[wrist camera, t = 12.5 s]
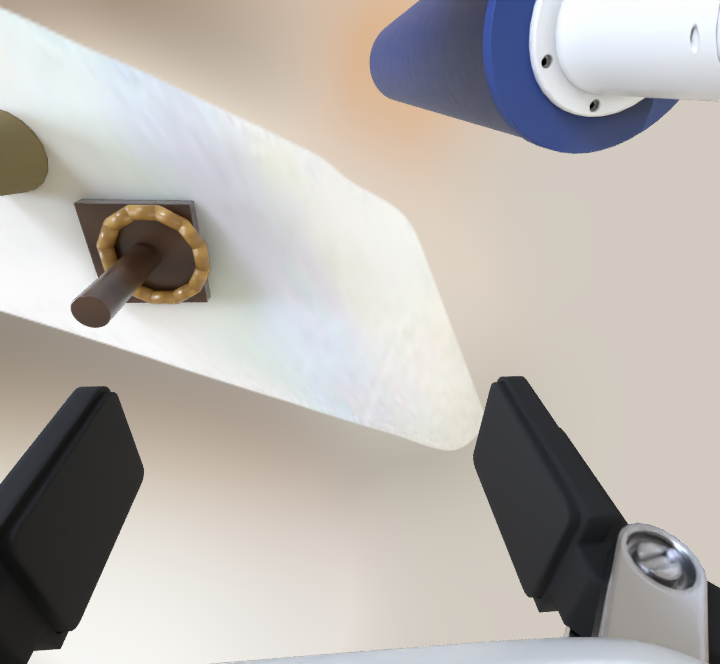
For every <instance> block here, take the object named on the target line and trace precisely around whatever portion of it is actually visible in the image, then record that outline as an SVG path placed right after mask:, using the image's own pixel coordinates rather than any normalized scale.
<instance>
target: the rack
mask: <svg viewBox="0 0 720 664" xmlns="http://www.w3.org/2000/svg"><path fill="white" fill-rule="evenodd" d="M126 205H160V206H162V207H164V208H166V209H168V210H170V211H172V212H174V213H176V214H178V215H180V216H181V217H183V218H185V219H187V220H188V221H189V222H190V223H191V224H192V226H193V227H194V228H195V230H196V231H197V232H198V233H199V230H198V224H197V218H196V213H195V207H194V202H193V201H163V200H87V199H81V200H79V201H77V202H75V203H74V206H75V209H76V212H77V215H78V218H79V221H80V224H81V227H82V230H83V233H84V236H85V239H86V242H87V245H88V248H89V251H90V254H91V257H92V260H93V263H94V266H95V270H96V273H97V276H98V279H96V280H95V281H94V282H93V283H92V284H91V285H90V286H89V287H87V288H86V289H85V290H84V291H83V292H82V293H81V294H80V295H78V296H77V297H76V298H75V299H74V300H73V301H72V303H71V312H72V314H73V316H74V317H75V319H76V320H77V321H79V322H80V323H81V324H83V325H85V326H88V327H93V328H98V327H103V326H105V325H106V324H108V323H109V321H110V320H111V319H112V318H113V317H114V316H115V314H116V313H117V312H118V311H119V310H120V309H121V308H122V306H123V305H124V304H125V303H148V302H146V301H144V300H141V299H139V298H137V297H134V296H132V295H133V294H134V293H135V292H136V290H137V289H138V288H139V287H140V286H141V285H143V286H145V287H148V288H150V289H152V290H154V291H175V290H176V289H178V288H180V287H181V286H183V285H185V284H187V283H188V282H189V281H190V279H191V277H192V274H193V272H194V270H195V268H196V266H195V261H194V256H193V251H192V248H191V247H190V245H189V244H188V243H187V242H186V240H185V239H184V238H183V237H182V236H181V234H180V233H179V232H178V231H177V230H175V229H173V228H171V227H169V226H167V225H165V224H163V223H161V222H159V221H157V220H134V221H133V222H131V223H130V224H128V225H127V226H125V227H123V228H122V229H120V230H119V233H118V236H117V239H116V242H115V245H114V249H115V252H116V256H117V259H118V261H117V262H115V263H114V264H113V265H112V266H111V267H110V268H109V269H108V270H106V271H104V268H103V265H102V262H101V258H100V255H99V252H98V249H97V241H98V238H99V235H100V231H101V228H102V225H103V222H104V220H105V219H106V218H108V217H109V216H111V215H112V214H114V213H115V212H117V211H118V210H120V209H122V208H123V207H125V206H126ZM209 298H210V292H209V286H208V281H207V279H206V281H205V283H204V286H203V288H202V290H201V291H200V292H199V293H197V294H196V295H194V296H192V297H190V298H189V299H187V300H185V301H183V302H208V300H209Z"/></svg>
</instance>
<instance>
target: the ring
mask: <svg viewBox="0 0 720 664" xmlns="http://www.w3.org/2000/svg"><path fill="white" fill-rule="evenodd" d="M134 220H157V221H159V222H161V223H163V224H165V225H167V226H169V227H171V228H173V229H175V230H177V231H178V232H179V233H180V234H181V236H182V237H183V238H184V239H185V240H186V242H187V243H188V244H189V245H190V247H191V248H192V251H193V256H194V261H195V266H196V268H195V270H194V272H193V274H192V277H191V279H190V281H189V282H188V283H187V284H185V285H183V286H181V287H180V288H178V289H176V290H175V291H154V290H152V289H150V288H148V287H145V286H143V285H141V286H140V287H139V288H138V289H137V290H136V292H135V293H134V294H133V295H132V296H134V297H137V298H139V299H141V300H144V301H146V302H148V303H151V304H179V303H181V302H183V301H185V300H187V299H189V298H190V297H192V296H194V295H196V294H197V293H199V292H200V291H201V290H202V288H203V286H204V283H205V281H206V279H207V277H208V275H209V273H210V270H211V267H210V262H209V256H208V250H207V244H206V242H205V241H204V240H203V239H202V237H201V236H200V235H199V233H198V232H197V231H196V230H195V228H194V227H193V226H192V224H191V223H190V222H189V221H188V220H187V219H185V218H183V217H181V216H180V215H178V214H176V213H174V212H172V211H170V210H168V209H166V208H164V207H162V206H160V205H126V206H125V207H123V208H122V209H120V210H118V211H117V212H115V213H114V214H112V215H111V216H109V217H108V218H106V219H105V220H104V222H103V225H102V228H101V231H100V235H99V238H98V241H97V249H98V252H99V255H100V258H101V262H102V265H103V268H104V271H106V270H108V269H109V268H110V267H111V266H112V265H113V264H114V263H115V262H117V261H118V259H117V256H116V252H115V249H114V245H115V242H116V239H117V236H118V233H119V230H120V229H122V228H123V227H125V226H127V225H128V224H130V223H131V222H133V221H134Z"/></svg>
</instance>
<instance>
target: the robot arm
mask: <svg viewBox="0 0 720 664" xmlns="http://www.w3.org/2000/svg"><path fill="white" fill-rule="evenodd" d="M529 51H530V60H531V66H532V69H533V72H534V76H535V79H536V81H537V83H538V85H539V87H540V89H541V90H542V92H543V94H544V95H545V96H546V97H547V98H548V99H549V100H550V101H551V103H553V104H554V105H556V106H557V107H559V108H560V109H562V110H563V111H566V112H569V113H572V114H574V115H580V116H586V117H596V116H606V115H610V114H614V113H618V112H620V111H622V110H624V109H627V108H629V107H631V106H633V105H635V104H636V103H638V102H639V101H641V100H642V99H644V98H645V97H646V98H663V99H682V100H698V101H715V102H720V0H536V2H535V5H534V9H533V14H532V19H531V24H530V35H529ZM543 58H544V60H545V63H544V65H543V66H542V59H543ZM590 104H591V107H590ZM473 460H474V465H475V469H476V471H477V474H478V476H479V479H480V481H481V484H482V487H483V489H484V492H485V494H486V497H487V499H488V502H489V504H490V507H491V509H492V512H493V514H494V517H495V519H496V522H497V524H498V527H499V530H500V532H501V534H502V537H503V540H504V542H505V545H506V547H507V550H508V552H509V555H510V557H511V560H512V562H513V565H514V567H515V570H516V572H517V575H518V578H519V580H520V583H521V585H522V588H523V590H524V592H525V593H526V595H527V596H528V597H533V598H534V601H535V603H536V606H537V608H538V611H539V612H550V611H559V614H560V616H561V618H562V620H563V622H564V624H565V625H566V629H565V634H564V637H560V638H544V639H526V640H507V641H491V642H477V643H465V644H451V645H438V646H425V647H412V648H400V649H385V650H372V651H360V652H349V653H336V654H323V655H311V656H300V657H286V658H274V659H262V660H250V661H237V662H226V663H214V664H720V588H719V587H717V586H715V585H714V584H712V583H710V582H708V581H707V579H706V574H705V570H704V569H703V567H702V565H701V563H700V561H699V560H698V558H697V557H696V556H695V555H694V553H693V552H692V551H691V550H690V549H689V548H688V547H687V546H686V545H685V544H684V543H682V542H681V541H680V540H679V539H677V538H676V537H675V536H673V535H671V534H669V533H668V532H666V531H664V530H663V529H660V528H657V527H655V526H652V525H648V524H642V523H635V524H627V522H626V521H625V519H624V518H623V516H622V515H621V513H620V512H619V510H618V509H617V507H616V506H615V505H614V503H613V502H612V500H611V499H610V497H609V496H608V495H607V493H606V492H605V490H604V489H603V487H602V486H601V484H600V483H599V481H598V480H597V478H596V477H595V476H594V474H593V473H592V471H591V470H590V468H589V467H588V465H587V464H586V462H585V461H584V460H583V458H582V457H581V455H580V454H579V452H578V451H577V449H576V448H575V447H574V445H573V444H572V442H571V441H570V439H569V438H568V436H567V435H566V433H565V432H564V431H563V430H562V429H561V428H559V427H558V425H557V424H556V422H555V421H554V419H553V418H552V416H551V415H550V414H549V412H548V411H547V409H546V408H545V406H544V405H543V403H542V402H541V400H540V399H539V397H538V396H537V394H536V393H535V392H534V390H533V389H532V387H531V386H530V384H529V383H528V381H527V380H526V379H525V378H524V377H522V376H510V377H500V378H499V379H498V381H497V382H494V383H492V385H491V388H490V391H489V395H488V399H487V403H486V407H485V411H484V415H483V419H482V422H481V426H480V430H479V434H478V438H477V442H476V446H475V450H474V454H473ZM143 476H144V468H143V464H142V462H141V459H140V456H139V453H138V451H137V448H136V445H135V442H134V440H133V437H132V434H131V431H130V428H129V426H128V423H127V420H126V418H125V414H124V412H123V409H122V406H121V403H120V401H119V398H118V396H117V394H116V393H115V392H111V391H110V390H109V388H107V387H105V386H97V387H79V388H77V389H76V390H75V391H74V392H73V393H72V394H71V396H70V397H69V398H68V399H67V401H66V402H65V403H64V404H63V406H62V407H61V408H60V409H59V411H58V412H57V413H56V415H55V416H54V417H53V418H52V420H51V421H50V422H49V423H48V424H47V426H46V427H45V428H44V430H43V431H42V432H41V433H40V435H39V436H38V437H37V438H36V440H35V441H34V442H33V443H32V445H31V446H30V447H29V449H28V450H27V451H26V452H25V454H24V455H23V456H22V457H21V459H20V460H19V461H18V462H17V464H16V465H15V466H14V467H13V469H12V470H11V471H10V472H9V474H8V475H7V476H6V478H5V479H4V480H3V481H2V483H1V484H0V664H27V663H28V661H29V659H30V657H31V655H32V653H33V651H38V650H52V649H61V647H62V645H63V642H64V640H65V638H66V636H67V634H68V631H72V630H74V629H75V628H76V627H77V625H78V624H79V622H80V620H81V618H82V616H83V614H84V612H85V609H86V607H87V605H88V603H89V600H90V598H91V596H92V593H93V591H94V589H95V587H96V584H97V582H98V580H99V578H100V576H101V573H102V571H103V569H104V566H105V564H106V562H107V560H108V557H109V555H110V553H111V551H112V548H113V546H114V544H115V542H116V539H117V537H118V535H119V533H120V530H121V528H122V526H123V524H124V521H125V519H126V517H127V515H128V512H129V510H130V508H131V505H132V503H133V501H134V499H135V497H136V494H137V492H138V490H139V488H140V485H141V483H142V480H143Z"/></svg>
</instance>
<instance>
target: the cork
mask: <svg viewBox="0 0 720 664" xmlns="http://www.w3.org/2000/svg"><path fill="white" fill-rule="evenodd" d="M47 172H48V159H47V156H46V153H45V150H44V147H43V145H42V144H41V142H40V141H39V139H38V138H37V136H36V135H35V133H34V132H33V131H32V130H31V129H30V128H29V127H28V126H27V125H26V124H25V123H24V122H23V121H21V120H19V119H18V118H16V117H15V116H13V115H11V114H10V113H8V112H5V111H2V110H0V196H3V195H10V194H16V193H23V192H28V191H30V190H33V189H36V188H38V187H39V186H40V185H41V184H42V183H43V182H44V180H45V178H46V175H47Z"/></svg>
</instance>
